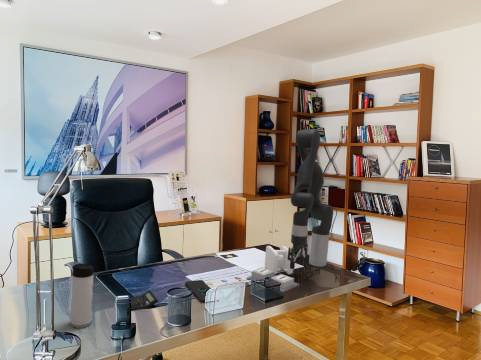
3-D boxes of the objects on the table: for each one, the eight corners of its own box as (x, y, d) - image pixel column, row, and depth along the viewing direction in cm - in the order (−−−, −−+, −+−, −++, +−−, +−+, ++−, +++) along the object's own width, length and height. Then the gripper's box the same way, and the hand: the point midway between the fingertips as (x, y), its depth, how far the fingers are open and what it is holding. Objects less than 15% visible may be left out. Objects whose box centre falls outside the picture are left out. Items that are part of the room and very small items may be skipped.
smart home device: (201, 300, 144) (184, 281, 162) (200, 304, 145) (184, 285, 162) (220, 297, 148) (202, 279, 166) (220, 301, 148) (202, 283, 166)
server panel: (263, 273, 183) (264, 264, 183) (298, 285, 171) (299, 276, 170) (246, 279, 173) (247, 270, 173) (282, 292, 161) (283, 283, 160)
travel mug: (65, 324, 121) (67, 264, 119) (83, 317, 127) (85, 259, 125) (77, 330, 118) (79, 269, 116) (95, 323, 124) (97, 264, 122)
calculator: (120, 301, 141) (120, 293, 141) (150, 297, 147) (150, 289, 147) (125, 312, 133) (126, 304, 133) (157, 307, 139) (158, 299, 139)
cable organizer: (263, 266, 194) (265, 244, 193) (282, 265, 197) (284, 244, 195) (273, 276, 179) (275, 253, 178) (293, 276, 182) (295, 253, 181)
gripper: (300, 229, 186) (297, 261, 188) (284, 234, 175) (282, 267, 177) (313, 233, 181) (311, 265, 183) (298, 237, 170) (295, 272, 172)
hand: (296, 266), depth 180 cm, fingers open, 8 cm apart
